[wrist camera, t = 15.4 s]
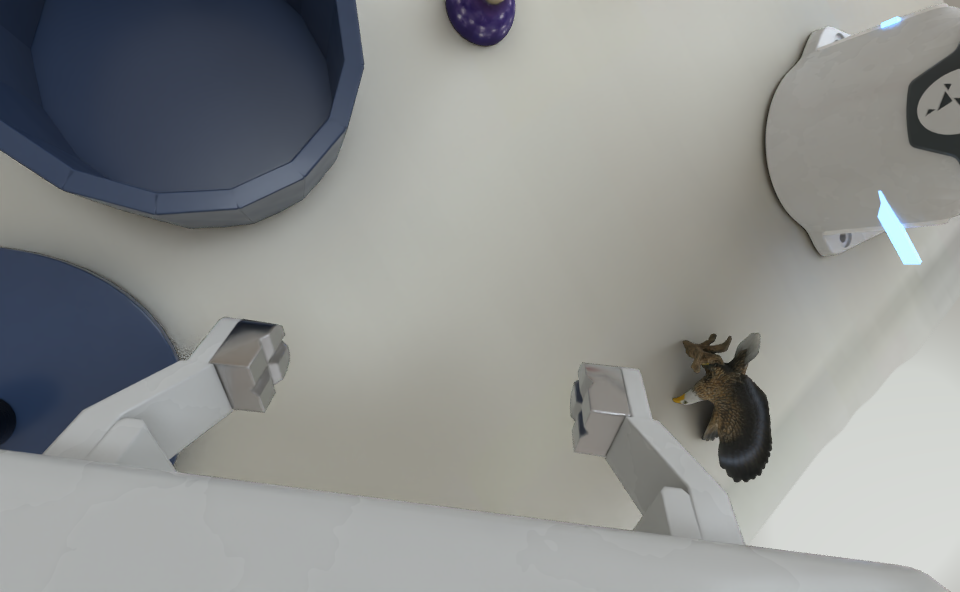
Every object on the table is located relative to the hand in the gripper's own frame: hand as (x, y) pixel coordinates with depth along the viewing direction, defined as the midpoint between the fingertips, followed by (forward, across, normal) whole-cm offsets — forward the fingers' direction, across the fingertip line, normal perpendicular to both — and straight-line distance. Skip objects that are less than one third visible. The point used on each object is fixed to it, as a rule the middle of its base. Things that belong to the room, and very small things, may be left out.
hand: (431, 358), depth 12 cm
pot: (+14, +14, -2) cm, 20 cm away
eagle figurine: (+16, -18, +17) cm, 30 cm away
